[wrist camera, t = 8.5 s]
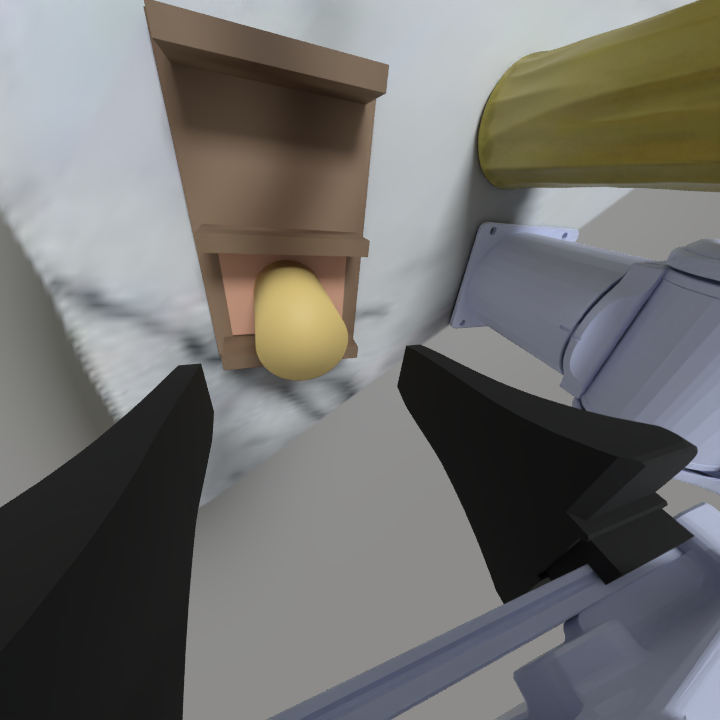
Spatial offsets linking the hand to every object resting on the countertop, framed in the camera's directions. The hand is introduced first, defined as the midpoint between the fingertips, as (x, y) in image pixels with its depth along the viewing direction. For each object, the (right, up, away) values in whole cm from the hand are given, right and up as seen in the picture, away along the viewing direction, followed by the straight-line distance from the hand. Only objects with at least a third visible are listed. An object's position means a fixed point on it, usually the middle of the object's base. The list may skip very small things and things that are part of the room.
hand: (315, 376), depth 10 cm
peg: (-3, +5, +7) cm, 9 cm away
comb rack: (-3, +8, +5) cm, 10 cm away
